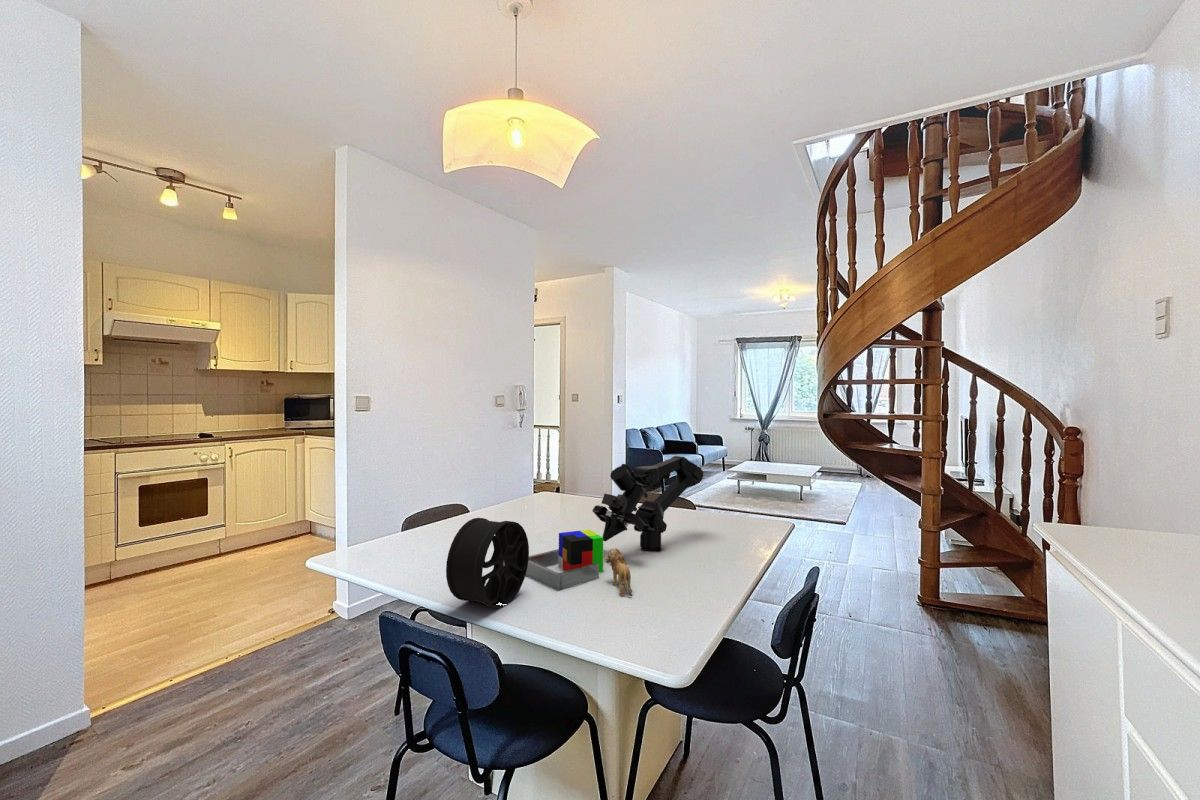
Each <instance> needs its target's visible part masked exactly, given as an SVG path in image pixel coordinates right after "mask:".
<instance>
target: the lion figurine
mask: <svg viewBox="0 0 1200 800" xmlns="http://www.w3.org/2000/svg"><path fill="white" fill-rule="evenodd" d="M603 559H604V560H605V561H606V564H609V563H610V564H609V565H610V566H611V570H612V575H613V582H611V585H613V586H617V585H618V587H619V590H620V592H619V597H624V596H625V594H624V593H625V592H624V588H625V590H626V592H627V594H628V596H629V597H633V596H634V595H633V594H632V591H633V589H632V588H631V587H632V586H631V570H630V568H629V566H628V565H627V562H626V559H625V557H624V554H623V553H622V552H621V551H620V550H619V549H618V548H611V549H610V551H609V552H608V554H606V555H605V556H603ZM623 584H624V586H623Z"/></svg>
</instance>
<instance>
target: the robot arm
mask: <svg viewBox="0 0 1200 800" xmlns="http://www.w3.org/2000/svg"><path fill="white" fill-rule="evenodd" d="M673 472H675V474H676V478H675V480H674V481H672V483H670V485H669V486H667V488H665V490H664V491H662V493H660V494H659V496H658V497H656V498H655V500H654V501H648V500H645V501H643V502H642V504H641V505H639V506H637V505H638V503H639V502H640V500H641V499H642V498H646V499H648V497H649V496H648V495H649V494H648V490H647V489H646V488H643V486H644V487H645V486H646V487H653V486H654V485H655V484H656V483H658V482H659V481H660V479H661V478H662V477H664V476H667V475H669V474H672V473H673ZM610 479H611V481H613V483H614V484H615V486H617V488H618V489H619V490H620V491H623V493H622V494H617V495H613V494H609V493H604V495H603V497H602V500H601V504H602V505H600V504H597V505H594V507H593V509H592V510H591V511H592V512H593V514H595V516H596V517H597V518H598V519H599V520H600V521H601V522H602V523H604V529H603V533H602V537H603V542H607V541H608V540H610V539H612V538H614V537H615V536H617V535H619V534H621V533H622V532H625V531H626V532H627V531H628V529H629V528H628V526H629V525H633V530H634V531H636V532H638V533H640V535H639V537H640V539H639V542H640V543H639V546H640V550H641V551H650V552H651V551H653V552H661V551H662V547H663V546H662V534H663V533H664V532H666V530H667V523H666V522H665V521H664V517H665V516H664V514H665V512H666V511H667V510H668V509H669V507H670V506H671V505H673V503H675V501H676V500H677V499H678V498H679V497H680V496H681V495H683V493H684V492H685V491H686V490H687V489H688V488H691V487H695V486H696V485H699V483H701V481H703V479H704V471H703V469H702V468H701V467H700V466H698V465H697V464H695V463H693V462H692V461H690V460H689V459H688V458H686V457H685V456H682V455H681V456H679V455H674V456H672V457H671V458H668V459H666V460H664V461H661V462H659V463H656V464H654V465H646V466H645V465H642V466H637V467H635V468H634V469H633V470H632V469H631V468H630V466H629V465H628V464H627V463H622V464H621V465H619V466H617V467H615V469H612V471H611V473H610ZM605 505H606V506H608V508H607V507H606V506H605ZM633 512H635V513H633Z"/></svg>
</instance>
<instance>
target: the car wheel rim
mask: <svg viewBox="0 0 1200 800" xmlns="http://www.w3.org/2000/svg"><path fill="white" fill-rule="evenodd" d="M491 543H492V547H493V553H492V554H491V557H490V559H489V560H488V561H486V557H487V553H488V550H489V548H490V546H491ZM529 556H530V544H529V539H528V536H527V532H526V530H525V529H524V527H523V526H522V525H521V524H520V523H519V522H517V521H510V520H502V521H496V520H489V519H487V518H484V517H483V518H482V517H474V518H471V519H469V520H468V521H466V522H465V523H464V524H463V525H462V526H461V527H460V528H459V530H458V531H457V533H456V534H455V536H454V538H453V540H452V542H451V544H450V547H449V550H448V553H447V559H446V566H445V573H446V574H445V577H446V583H447V586H448V588H449V591H450V593H451V594H452V595H453V597H454V598H456V599H458V600H461V601H463V602H468V601H469V602H470V601H474V602H479V603H483V605H485V606H487V607H491V608H497V609H501V608H504V607H503V605H501V606H500V605H496V604H498V603H499V602H500V603H502V604H507V605H509V604H510V603H511V602H512V601H513V600H514V599H515V598H516V597H517V595H518V594H519V592H520V590H521V588H522V586H523V583H524V581H525V578H526V572H527V567H528V561H529ZM491 567H492V570H491V571H489V572H487V573H486V574H484V575H483V569H488V568H491ZM509 602H510V603H509ZM508 603H509V604H508Z"/></svg>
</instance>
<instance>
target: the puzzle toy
mask: <svg viewBox="0 0 1200 800" xmlns="http://www.w3.org/2000/svg"><path fill="white" fill-rule="evenodd" d="M558 549H559V564H558V567H559V568H560V569H561V570H562V569H563V570H562V571H563V572H565V571H568V570H572V569H575V568H579V567H582V566H586V565H590V564H593V563H598V564H599V572H600V573H603V572H604V541H603V536H602V535H600V534H598V533H596V532H594V531H593V530H591V529H582V530H574V531H566V532H564V531H563V532H558Z"/></svg>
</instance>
